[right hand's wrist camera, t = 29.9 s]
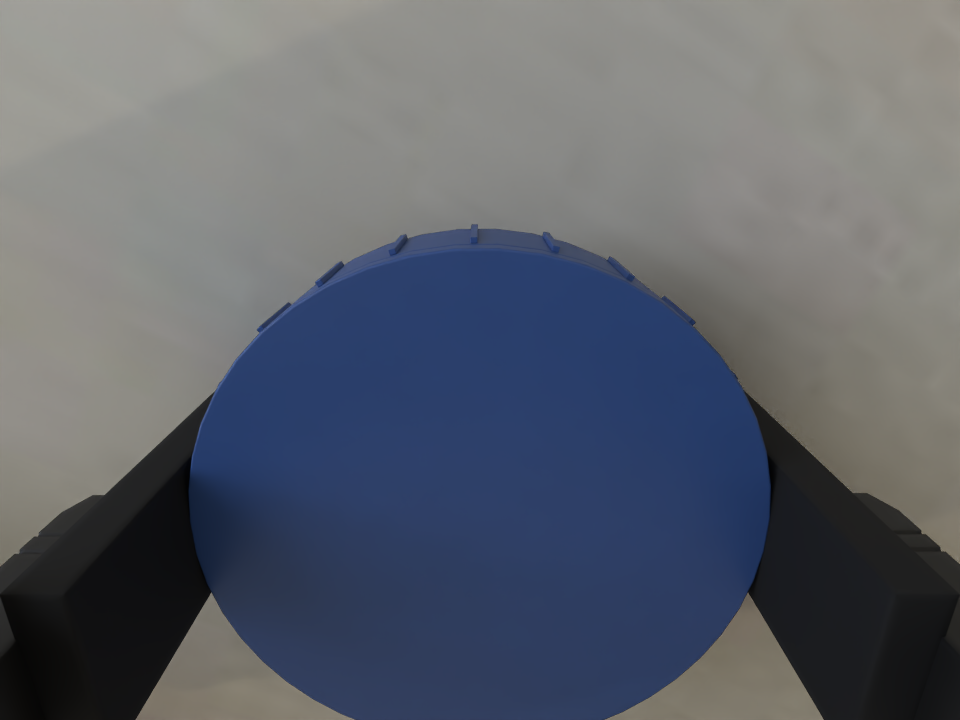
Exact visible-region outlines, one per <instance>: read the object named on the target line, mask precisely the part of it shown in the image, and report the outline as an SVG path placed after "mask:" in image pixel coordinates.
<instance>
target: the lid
mask: <svg viewBox="0 0 960 720" xmlns="http://www.w3.org/2000/svg"><path fill="white" fill-rule="evenodd" d="M315 283H316V285H315V286H313V287H312V288H311V289H310V290H309V291H307V292H306V293H305V294H304V295H303V296H301V297H300V298H299V299H298V300H297V301H296V302H294V303H293V304H292V305H291V304H290V303H289V302H288V303H287V304H286V305H285V306H284V307H282V308H281V309H280V310H279V311H278V312H276V313H275V314H274V315H273V316H272V317H270V318H269V319H268V320H267V321H266V322H264V323H263V324H262V325H261V326H260V327H259V328H258V329H257V331H258V332H259V334H258V335H257V336H256V338H255V339H254V340H253V341H252V342H251V343H250V344H249V345H248V347H247V348H246V349H245V350H244V351H243V352H242V353H241V354H240V355H239V357H238V358H237V359H236V360H235V362H234V363H233V365H232V366H231V368H230V369H229V371H228V372H227V374H226V375H225V377H224V378H223V380H222V381H221V382H220V383H219V385H218V387H217V389H216V391H215V393H214V395H213V397H212V400H211V402H210V404H209V406H208V408H207V411H206V413H205V415H204V417H203V420H202V422H201V425H200V428H199V432H198V436H197V440H196V443H195V447H194V451H193V454H192V461H191V470H190V480H189V489H188V493H189V512H190V524H191V529H192V534H193V539H194V544H195V549H196V554H197V557H198V560H199V563H200V565H201V568H202V571H203V574H204V576H205V579H206V582H207V584H208V586H209V588H210V590H211V592H212V594H213V596H214V598H215V599H216V601H217V603H218V605H219V607H220V609H221V611H222V612H223V614H224V615H225V617H226V618H227V619H228V621H229V622H230V624H231V625H232V626H233V628H234V629H235V631H236V632H237V633H238V635H239V636H240V637H241V639H242V640H243V641H244V642H245V643H246V644H247V645H248V646H249V647H250V648H251V649H252V650H253V652H254V653H255V654H256V655H257V656H258V657H259V658H260V659H261V660H262V661H263V662H264V663H265V664H266V665H268V666H269V667H270V668H271V669H272V670H274V671H275V672H276V673H277V674H278V675H279V676H281V677H282V678H283V679H284V680H285V681H287V682H288V683H290V684H291V685H292V686H294V687H295V688H297V689H298V690H300V691H301V692H303V693H304V694H306V695H307V696H309V697H310V698H312V699H314V700H315V701H317V702H319V703H321V704H323V705H325V706H327V707H329V708H331V709H333V710H335V711H337V712H338V713H340V714H342V715H345V716H348V717H350V718H353V719H355V720H604V719H607V718H609V717H612V716H614V715H617V714H619V713H621V712H623V711H625V710H627V709H629V708H631V707H633V706H634V705H636V704H638V703H640V702H642V701H644V700H646V699H647V698H649V697H651V696H652V695H654V694H655V693H657V692H658V691H660V690H661V689H662V688H664V687H665V686H667V685H668V684H670V683H671V682H673V681H674V680H675V679H677V678H678V677H679V676H680V675H681V674H683V673H684V672H685V671H686V670H687V669H688V668H689V667H691V666H692V665H693V664H694V663H695V662H696V661H697V660H699V659H700V658H701V657H702V656H703V654H704V653H705V652H706V651H707V650H708V649H709V648H710V647H711V646H712V644H713V643H714V642H715V641H716V640H717V639H718V638H719V637H720V636H721V634H722V633H723V632H724V630H725V629H726V627H727V626H728V624H729V623H730V621H731V620H732V619H733V617H734V616H735V614H736V613H737V611H738V610H739V608H740V606H741V604H742V603H743V601H744V599H745V597H746V595H747V593H748V591H749V589H750V587H751V585H752V583H753V581H754V578H755V575H756V573H757V570H758V567H759V564H760V561H761V558H762V555H763V552H764V547H765V542H766V537H767V531H768V526H769V521H770V500H771V482H770V474H769V467H768V459H767V451H766V448H765V445H764V441H763V438H762V434H761V431H760V428H759V424H758V421H757V418H756V416H755V414H754V411H753V409H752V407H751V405H750V403H749V401H748V399H747V397H746V395H745V393H744V390H743V388H742V386H741V385H740V383H739V382H738V378H737V376H736V375H735V374H734V373H733V372H732V371H731V370H730V369H729V367H728V366H727V364H726V363H725V361H724V360H723V358H722V357H721V356H720V354H719V353H718V352H717V351H716V350H715V349H714V348H713V347H712V346H711V345H710V344H709V343H708V342H707V341H706V339H705V338H704V337H703V336H702V335H701V334H700V333H699V332H698V331H697V330H696V329H695V328H694V327H693V325H694V324H695V323H696V322H695V321H694V320H693V319H692V318H691V317H689V316H688V315H687V314H686V313H685V312H683V311H682V310H681V309H680V308H679V307H677V306H676V305H675V304H674V303H673V302H671V301H670V300H669V299H668V298H667V297H665V296H663V297H662V298H660V297H659V296H657V295H656V294H655V293H654V292H652V291H651V290H650V289H649V288H647V287H646V286H645V285H644V284H642V283H641V282H640V281H639V280H637V279H636V278H635V276H634V275H632V274H631V273H630V272H629V271H628V270H627V269H625V268H624V267H623V266H622V265H621V264H620V263H619V262H617V261H616V260H615V259H614V258H612V257H609V258H608V260H606V259H604V258H602V257H601V256H598V255H596V254H593V253H591V252H588V251H586V250H584V249H581V248H579V247H576V246H574V245H572V244H569V243H566V242H563V241H559V240H555V239H553V237H552V236H551V235H550V233H547V232H543V236H540V235H536V234H532V233H524V232H516V231H508V230H500V229H478V225H477V224H472V226H471V229H457V230H450V231H443V232H436V233H429V234H422V235H419V236H415V237H412V238H407V235H406V234H405V235H401V236H400V237H399V238H398V239H397V241H396V242H394V243H391V244H387V245H385V246H383V247H380V248H378V249H376V250H373V251H371V252H369V253H367V254H364V255H362V256H360V257H357V258H355V259H353V260H352V261H350V262H348V263H347V264H345V265H344V264H343V263H342V261H341V262H339V263H337V264H336V265H335V266H334V267H332V268H331V269H330V270H329V271H328V272H327V273H325V274H324V275H323V276H322V277H321V278H319V279H318V280H317V281H316V282H315Z"/></svg>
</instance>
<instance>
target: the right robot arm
mask: <svg viewBox="0 0 960 720" xmlns="http://www.w3.org/2000/svg"><path fill="white" fill-rule="evenodd" d="M214 393H215V392H214ZM214 393H213V394H212V395H210V396H209V397H208V398H207V399H206V400H205V401H204V402H203V403H202V404H201V405H200V406H199V407H198V408H197V409H196V410H195V411H193V412H192V413H191V414H190V415H189V416H188V417H187V418H186V419H185V420H184V421H183V422H182V423H181V424H180V425H179V426H178V427H176V428H175V429H174V430H173V431H172V432H171V433H170V434H169V435H168V436H167V437H166V438H165V439H164V440H163V441H162V442H161V443H160V444H158V445H157V446H156V447H155V448H154V449H153V450H152V451H151V452H150V453H149V454H148V455H147V456H146V457H145V458H144V459H143V460H141V461H140V462H139V463H138V464H137V465H136V466H135V467H134V468H133V469H132V470H131V471H130V472H129V473H128V474H127V475H126V476H125V477H123V478H122V479H121V480H120V481H119V482H118V483H117V484H116V485H115V486H114V487H113V488H112V489H111V490H110V491H109V492H108V493H106V494H105V495H92V496H91V497H89V498H87V499H85V500H83V501H82V502H80V503H78V504H76V505H74V506H73V507H71V508H69V509H67V510H65V511H63V512H62V513H61V514H59V515H58V516H57V517H56V518H55V519H54V520H53V521H51V522H50V523H49V524H48V525H47V526H46V527H45V528H44V529H42V530H41V531H40V532H39V536H38V537H33V538H32V539H31V540H30V541H29V542H28V543H27V544H26V545H24V546H23V547H22V548H21V549H20V553H19V554H14V555H13V556H12V557H11V558H10V559H9V560H8V561H6V562H5V563H4V564H3V565H2V566H1V567H0V720H136V718H137V716H138V714H139V713H140V711H141V709H142V708H143V706H144V704H145V703H146V701H147V699H148V698H149V696H150V694H151V693H152V691H153V689H154V688H155V686H156V684H157V683H158V681H159V679H160V678H161V676H162V674H163V673H164V671H165V669H166V667H167V666H168V664H169V662H170V661H171V659H172V657H173V656H174V654H175V652H176V651H177V649H178V647H179V646H180V644H181V642H182V641H183V639H184V637H185V636H186V634H187V632H188V631H189V629H190V627H191V625H192V624H193V622H194V620H195V619H196V617H197V615H198V614H199V612H200V610H201V609H202V607H203V605H204V604H205V602H206V600H207V599H208V597H209V595H210V594H211V590H210V588H209V586H208V584H207V582H206V579H205V576H204V574H203V571H202V568H201V565H200V563H199V560H198V557H197V554H196V549H195V544H194V539H193V534H192V529H191V524H190V512H189V493H188V489H189V480H190V470H191V461H192V454H193V451H194V447H195V443H196V440H197V436H198V432H199V428H200V425H201V422H202V420H203V417H204V415H205V413H206V411H207V408H208V406H209V404H210V402H211V400H212V397H213V395H214ZM744 393H745V395H746V397H747V399H748V401H749V403H750V405H751V407H752V409H753V411H754V414H755V416H756V418H757V421H758V424H759V428H760V431H761V434H762V438H763V441H764V445H765V448H766V451H767V459H768V467H769V474H770V482H771V500H770V521H769V526H768V531H767V537H766V542H765V547H764V552H763V555H762V558H761V561H760V564H759V567H758V570H757V573H756V575H755V578H754V581H753V583H752V585H751V587H750V589H749V591H748V593H749V594H750V596H751V598H752V599H753V601H754V603H755V604H756V606H757V608H758V609H759V611H760V613H761V614H762V616H763V618H764V619H765V621H766V623H767V625H768V626H769V628H770V630H771V631H772V633H773V635H774V636H775V638H776V640H777V641H778V643H779V645H780V646H781V648H782V650H783V651H784V653H785V655H786V656H787V658H788V660H789V661H790V663H791V665H792V667H793V668H794V670H795V672H796V673H797V675H798V677H799V678H800V680H801V682H802V683H803V685H804V687H805V688H806V690H807V692H808V693H809V695H810V697H811V698H812V700H813V702H814V704H815V705H816V707H817V709H818V710H819V712H820V714H821V715H822V717H823V719H824V720H960V564H959V563H958V562H957V561H955V560H954V559H953V558H952V557H951V556H950V555H949V554H947V553H946V552H941V550H940V547H939V546H938V545H937V544H936V543H935V542H934V541H933V540H932V539H930V538H929V537H928V536H927V535H926V534H922V533H921V530H920V529H919V528H918V527H917V526H916V525H915V524H913V523H912V522H911V521H910V520H909V519H908V518H907V517H905V516H904V515H903V514H902V513H901V512H900V511H899V510H897V509H895V508H893V507H891V506H890V505H888V504H886V503H884V502H882V501H880V500H879V499H877V498H875V497H873V496H871V495H870V494H868V493H852V492H851V491H850V490H849V489H848V488H847V487H846V486H845V485H844V484H842V483H841V482H840V481H839V480H838V479H837V478H836V477H835V476H834V475H833V474H832V473H831V472H830V471H829V470H828V469H827V468H825V467H824V466H823V465H822V464H821V463H820V462H819V461H818V460H817V459H816V458H815V457H814V456H813V455H812V454H811V453H810V452H809V451H807V450H806V449H805V448H804V447H803V446H802V445H801V444H800V443H799V442H798V441H797V440H796V439H795V438H794V437H793V436H792V435H790V434H789V433H788V432H787V431H786V430H785V429H784V428H783V427H782V426H781V425H780V424H779V423H778V422H777V421H776V420H775V419H774V418H772V417H771V416H770V415H769V414H768V413H767V412H766V411H765V410H764V409H763V408H762V407H761V406H760V405H759V404H758V403H757V402H755V401H754V400H753V399H752V398H751V397H750V396H749V395H748V394H747V393H746V392H745V391H744Z"/></svg>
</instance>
